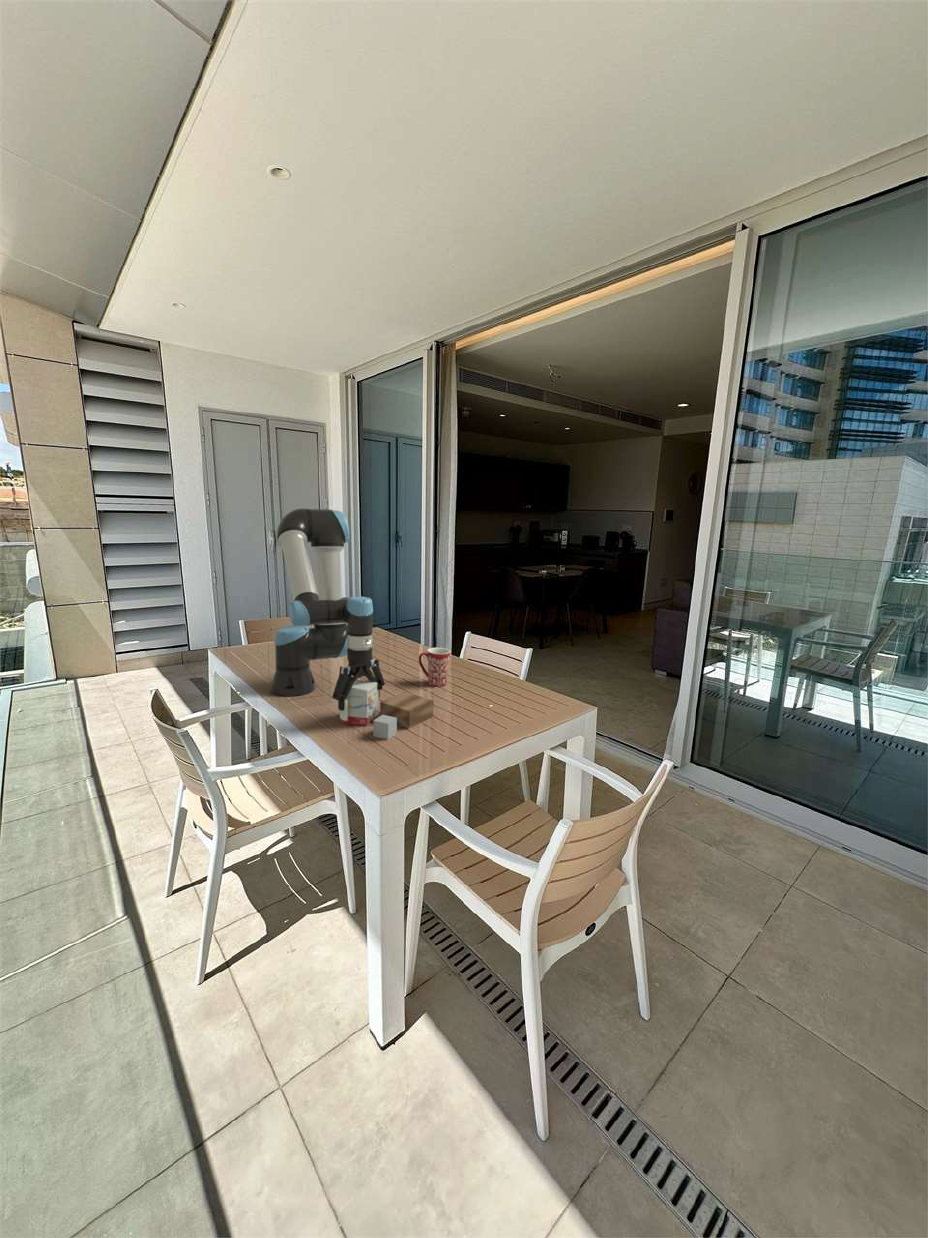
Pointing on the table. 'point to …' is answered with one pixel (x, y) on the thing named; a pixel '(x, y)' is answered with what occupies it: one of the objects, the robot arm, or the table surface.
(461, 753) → the table surface
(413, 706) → the walnut block
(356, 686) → the ink box
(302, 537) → the robot arm
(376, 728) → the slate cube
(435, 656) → the mug
